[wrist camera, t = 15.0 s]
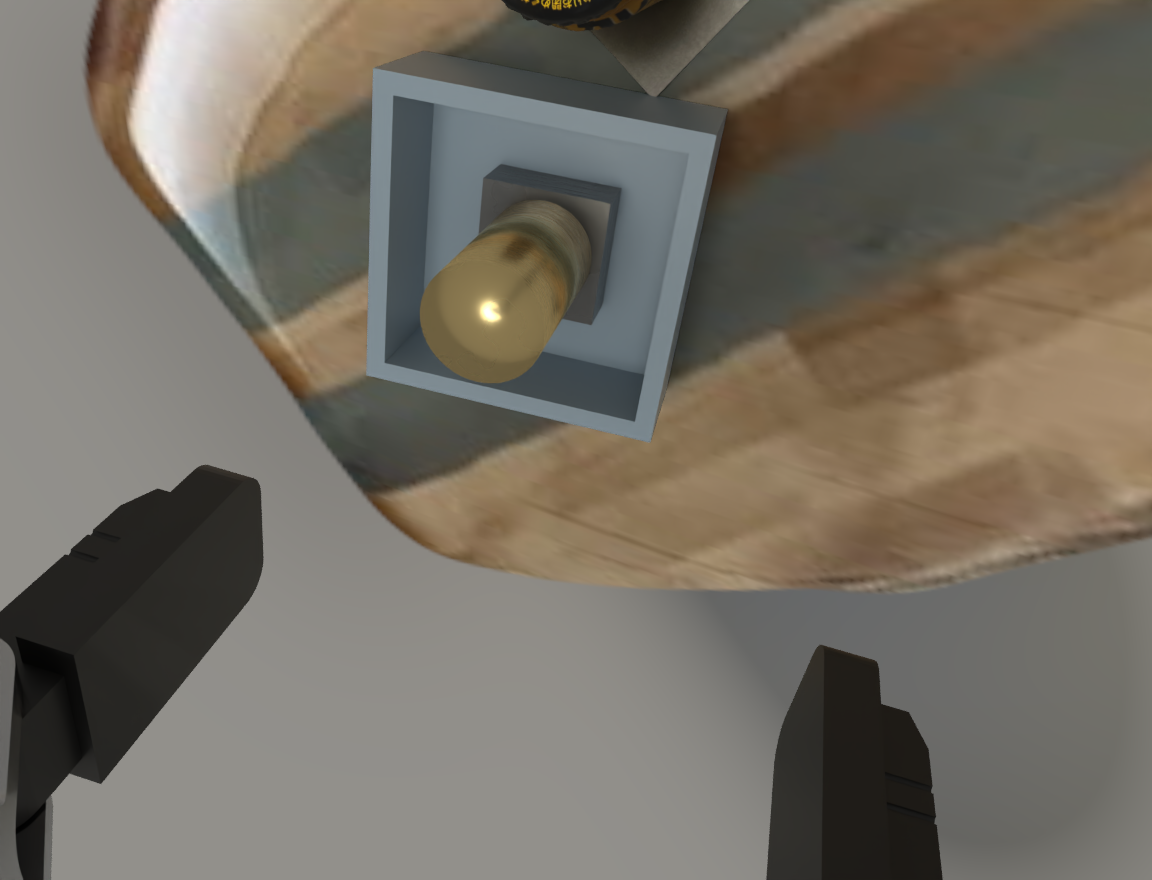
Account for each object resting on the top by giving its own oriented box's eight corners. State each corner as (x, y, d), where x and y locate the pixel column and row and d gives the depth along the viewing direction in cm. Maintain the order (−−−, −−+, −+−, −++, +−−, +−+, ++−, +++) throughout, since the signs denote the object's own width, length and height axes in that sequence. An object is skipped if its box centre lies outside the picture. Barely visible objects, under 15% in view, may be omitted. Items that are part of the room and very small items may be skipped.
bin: (423, 50, 37) (373, 68, 33) (728, 109, 36) (716, 135, 31) (409, 330, 44) (366, 375, 39) (666, 389, 42) (650, 442, 38)
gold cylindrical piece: (500, 164, 38) (412, 234, 30) (621, 188, 37) (566, 267, 29) (490, 280, 41) (405, 375, 32) (602, 304, 40) (546, 408, 32)
